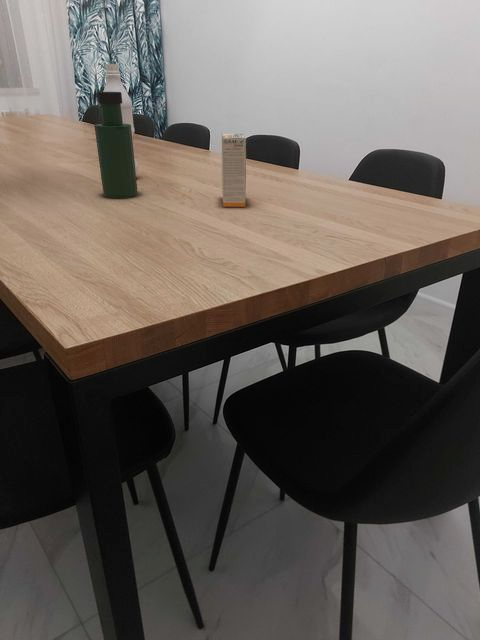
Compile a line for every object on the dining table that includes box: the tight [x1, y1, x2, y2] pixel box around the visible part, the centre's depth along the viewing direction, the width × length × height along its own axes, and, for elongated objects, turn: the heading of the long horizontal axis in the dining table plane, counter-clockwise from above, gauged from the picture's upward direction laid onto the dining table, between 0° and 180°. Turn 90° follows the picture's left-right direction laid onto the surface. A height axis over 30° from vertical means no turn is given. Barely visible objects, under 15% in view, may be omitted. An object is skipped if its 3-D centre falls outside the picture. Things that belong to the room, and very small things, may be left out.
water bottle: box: [102, 63, 139, 178], centre depth 120 cm, size 7×7×25 cm
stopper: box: [96, 91, 122, 105], centre depth 101 cm, size 5×5×6 cm
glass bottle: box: [94, 103, 139, 200], centre depth 105 cm, size 7×7×18 cm
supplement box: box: [221, 133, 247, 208], centre depth 102 cm, size 8×5×13 cm, turn 5°
